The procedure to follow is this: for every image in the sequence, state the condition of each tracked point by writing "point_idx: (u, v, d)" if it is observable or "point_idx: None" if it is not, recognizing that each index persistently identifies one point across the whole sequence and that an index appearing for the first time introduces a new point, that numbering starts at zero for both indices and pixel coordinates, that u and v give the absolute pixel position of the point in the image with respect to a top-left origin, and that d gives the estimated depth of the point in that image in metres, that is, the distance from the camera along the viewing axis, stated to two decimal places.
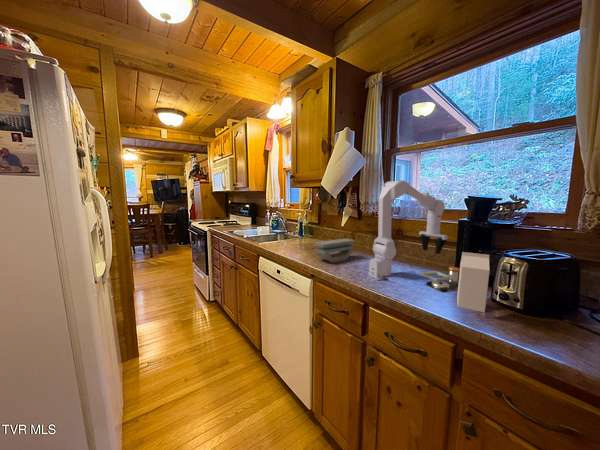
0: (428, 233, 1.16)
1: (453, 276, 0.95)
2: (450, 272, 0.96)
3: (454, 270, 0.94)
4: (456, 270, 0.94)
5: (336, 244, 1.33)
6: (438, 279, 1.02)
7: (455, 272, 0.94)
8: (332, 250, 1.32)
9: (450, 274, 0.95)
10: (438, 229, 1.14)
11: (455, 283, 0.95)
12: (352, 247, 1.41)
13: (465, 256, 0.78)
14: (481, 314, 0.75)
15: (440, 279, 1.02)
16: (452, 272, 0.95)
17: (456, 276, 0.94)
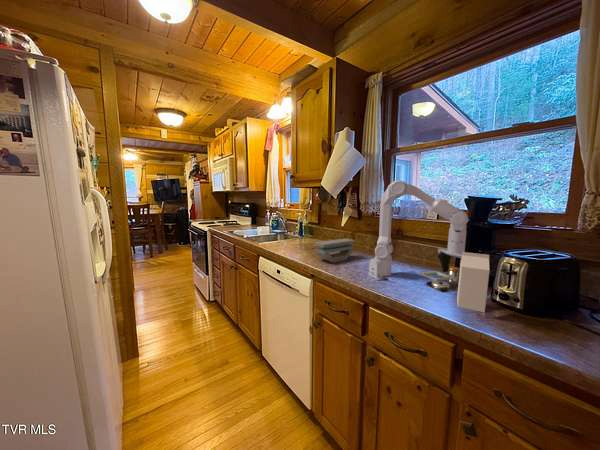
0: (450, 252, 0.94)
1: (453, 276, 0.95)
2: (450, 272, 0.96)
3: (454, 270, 0.94)
4: (456, 270, 0.94)
5: (336, 244, 1.33)
6: (438, 279, 1.02)
7: (455, 272, 0.94)
8: (332, 250, 1.32)
9: (450, 274, 0.95)
10: (463, 247, 0.92)
11: (455, 283, 0.95)
12: (352, 247, 1.41)
13: (465, 256, 0.78)
14: (481, 314, 0.75)
15: (440, 279, 1.02)
16: (452, 272, 0.95)
17: (456, 276, 0.94)
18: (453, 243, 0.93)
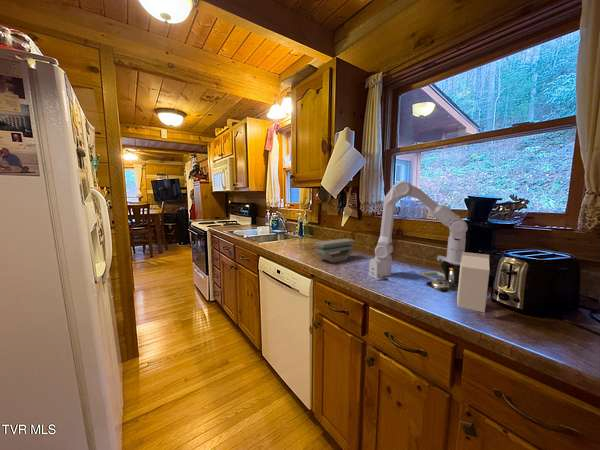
0: (449, 260, 0.94)
1: (453, 276, 0.95)
2: (450, 272, 0.96)
3: None
4: None
5: (336, 244, 1.33)
6: (438, 279, 1.02)
7: None
8: (332, 250, 1.32)
9: (450, 274, 0.95)
10: None
11: None
12: (352, 247, 1.41)
13: (465, 256, 0.78)
14: (481, 314, 0.75)
15: (440, 279, 1.02)
16: (452, 272, 0.95)
17: None
18: (452, 251, 0.93)
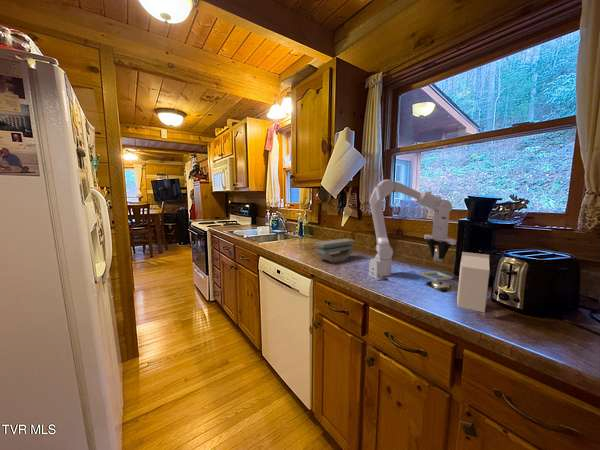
0: (434, 237, 1.03)
1: (438, 252, 1.04)
2: (435, 249, 1.05)
3: None
4: None
5: (336, 244, 1.33)
6: (438, 279, 1.02)
7: None
8: (332, 250, 1.32)
9: (435, 251, 1.05)
10: (446, 232, 1.02)
11: (440, 259, 1.04)
12: (352, 247, 1.41)
13: (465, 256, 0.78)
14: (481, 314, 0.75)
15: (440, 279, 1.02)
16: (437, 249, 1.04)
17: None
18: (437, 229, 1.02)
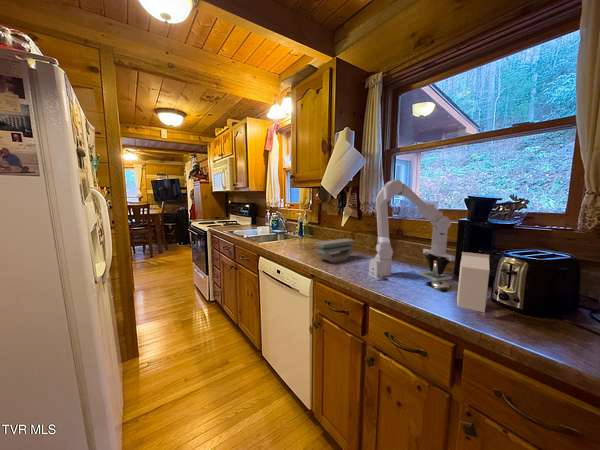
0: (433, 252, 1.04)
1: (437, 268, 1.05)
2: (434, 264, 1.06)
3: None
4: None
5: (336, 244, 1.33)
6: (438, 279, 1.02)
7: None
8: (332, 250, 1.32)
9: (434, 266, 1.06)
10: (444, 248, 1.03)
11: (439, 274, 1.05)
12: (352, 247, 1.41)
13: (465, 256, 0.78)
14: (481, 314, 0.75)
15: (440, 279, 1.02)
16: (436, 264, 1.05)
17: None
18: (435, 244, 1.03)
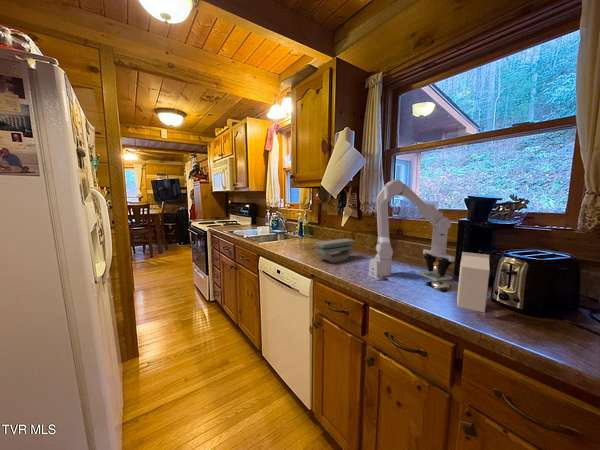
0: (433, 253, 1.04)
1: (437, 270, 1.05)
2: (434, 266, 1.06)
3: (437, 265, 1.04)
4: (439, 265, 1.04)
5: (336, 244, 1.33)
6: (438, 279, 1.02)
7: (438, 267, 1.05)
8: (332, 250, 1.32)
9: (434, 269, 1.06)
10: (444, 249, 1.03)
11: (438, 277, 1.05)
12: (352, 247, 1.41)
13: (465, 256, 0.78)
14: (481, 314, 0.75)
15: (440, 279, 1.02)
16: (436, 267, 1.05)
17: (439, 270, 1.05)
18: (435, 245, 1.03)
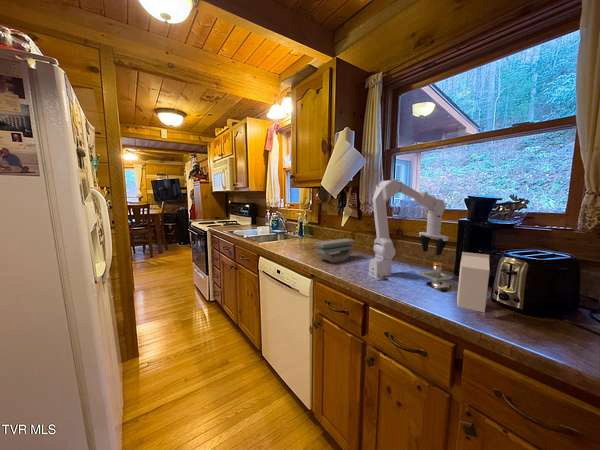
0: (428, 234, 1.11)
1: (437, 270, 1.05)
2: (434, 266, 1.06)
3: (437, 265, 1.04)
4: (439, 265, 1.04)
5: (336, 244, 1.33)
6: (438, 279, 1.02)
7: (438, 267, 1.04)
8: (332, 250, 1.32)
9: (434, 269, 1.06)
10: (439, 230, 1.10)
11: (438, 277, 1.05)
12: (352, 247, 1.41)
13: (465, 256, 0.78)
14: (481, 314, 0.75)
15: (440, 279, 1.02)
16: (436, 267, 1.05)
17: (439, 270, 1.05)
18: (430, 226, 1.10)
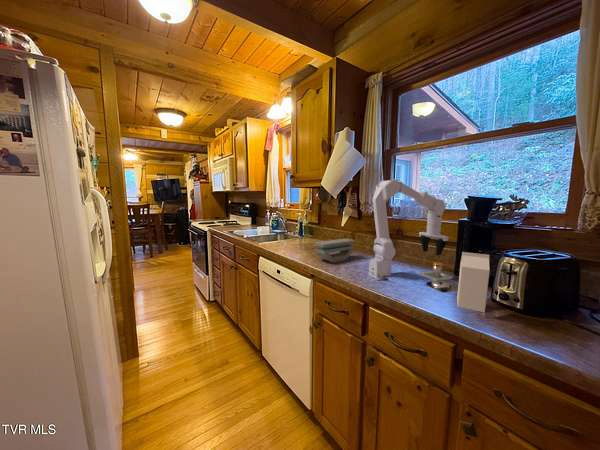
0: (428, 234, 1.11)
1: (437, 270, 1.05)
2: (434, 266, 1.06)
3: (438, 265, 1.04)
4: (439, 265, 1.04)
5: (336, 244, 1.33)
6: (438, 279, 1.02)
7: (438, 267, 1.04)
8: (332, 250, 1.32)
9: (434, 269, 1.06)
10: (439, 230, 1.10)
11: (438, 277, 1.05)
12: (352, 247, 1.41)
13: (465, 256, 0.78)
14: (481, 314, 0.75)
15: (440, 279, 1.02)
16: (436, 267, 1.05)
17: (439, 270, 1.05)
18: (430, 226, 1.10)
